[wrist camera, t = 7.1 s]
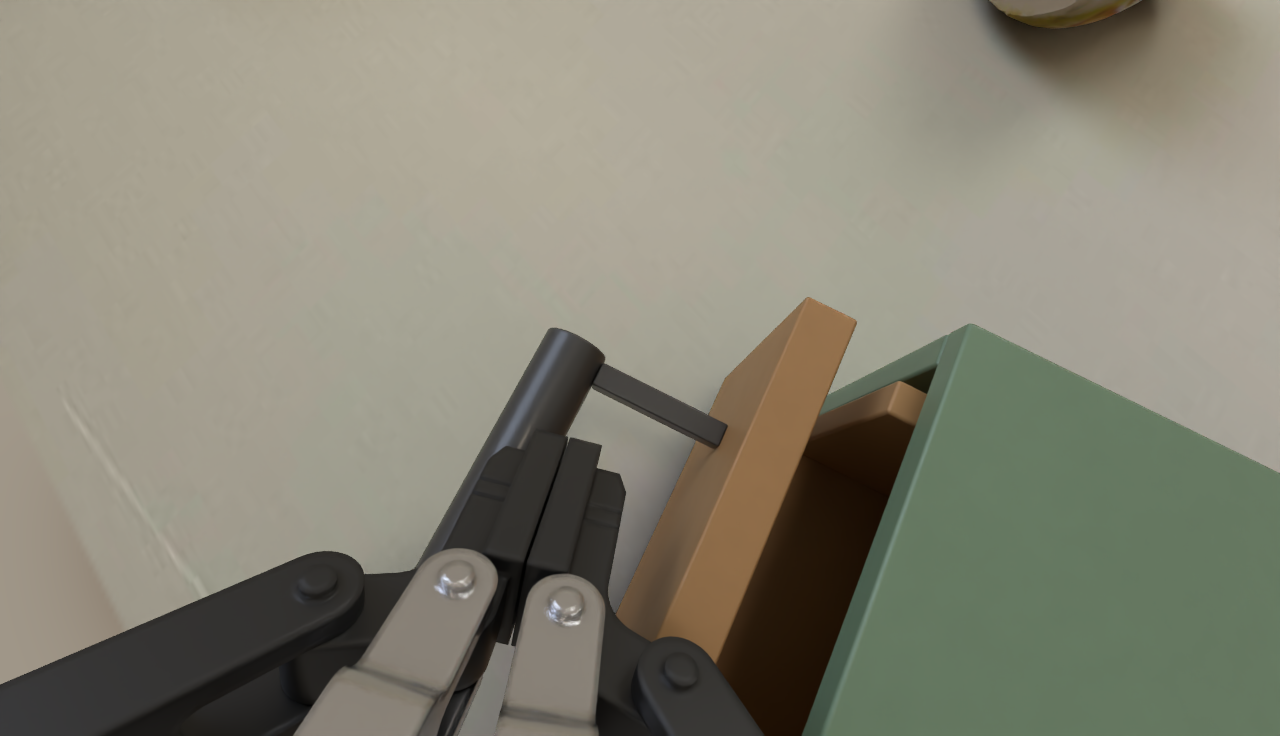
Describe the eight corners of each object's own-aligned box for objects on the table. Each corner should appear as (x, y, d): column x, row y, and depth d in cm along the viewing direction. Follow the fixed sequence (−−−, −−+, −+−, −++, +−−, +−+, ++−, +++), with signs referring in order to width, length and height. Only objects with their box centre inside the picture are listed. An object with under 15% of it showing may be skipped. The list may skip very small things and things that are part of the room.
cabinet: (646, 779, 18) (711, 1041, 9) (804, 406, 22) (970, 320, 12) (1096, 1011, 18) (1638, 1530, 9) (1190, 597, 21) (1660, 656, 12)
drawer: (410, 642, 18) (285, 731, 10) (591, 310, 21) (595, 191, 13) (994, 943, 17) (1306, 1264, 10) (1097, 560, 20) (1400, 585, 13)
